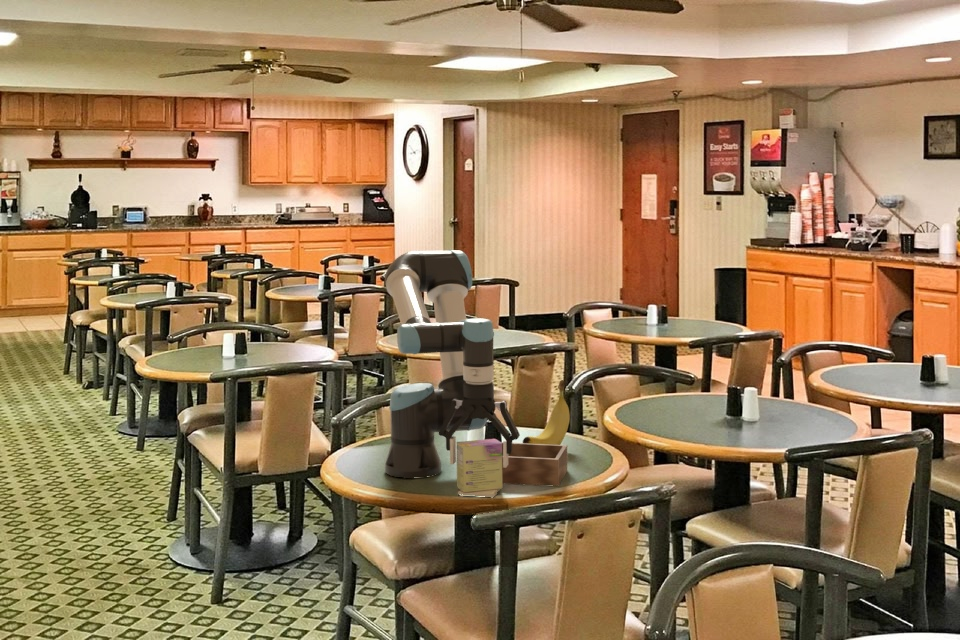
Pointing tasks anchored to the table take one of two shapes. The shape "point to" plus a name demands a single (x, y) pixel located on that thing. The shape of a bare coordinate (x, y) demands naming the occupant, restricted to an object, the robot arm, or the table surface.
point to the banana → (554, 423)
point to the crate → (535, 464)
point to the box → (479, 465)
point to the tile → (481, 493)
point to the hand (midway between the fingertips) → (479, 464)
